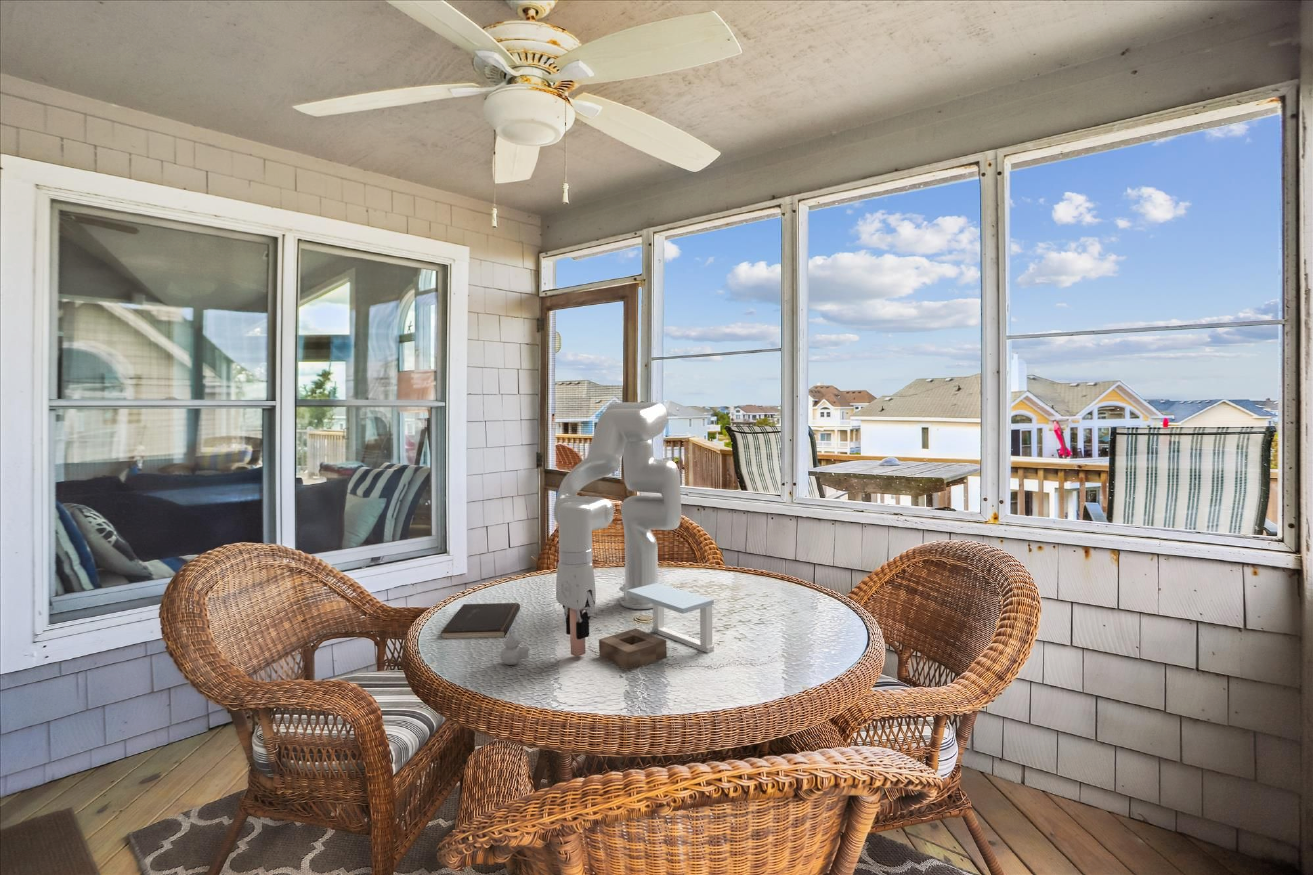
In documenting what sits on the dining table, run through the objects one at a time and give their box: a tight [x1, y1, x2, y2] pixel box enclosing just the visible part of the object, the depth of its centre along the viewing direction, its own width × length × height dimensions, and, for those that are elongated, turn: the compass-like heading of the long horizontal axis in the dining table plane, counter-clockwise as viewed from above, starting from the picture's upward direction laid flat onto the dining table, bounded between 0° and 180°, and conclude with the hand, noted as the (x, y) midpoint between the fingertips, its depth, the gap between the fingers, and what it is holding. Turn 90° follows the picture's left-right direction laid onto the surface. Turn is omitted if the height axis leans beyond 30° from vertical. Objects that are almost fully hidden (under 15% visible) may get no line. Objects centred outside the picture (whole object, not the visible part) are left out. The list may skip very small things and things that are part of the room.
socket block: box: [598, 628, 668, 671], centre depth 151 cm, size 11×11×4 cm
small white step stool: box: [627, 582, 715, 654], centre depth 158 cm, size 20×10×12 cm, turn 41°
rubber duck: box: [499, 628, 530, 666], centre depth 148 cm, size 5×7×8 cm
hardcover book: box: [440, 602, 521, 639], centre depth 176 cm, size 16×23×2 cm
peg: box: [569, 608, 587, 657], centre depth 151 cm, size 3×3×12 cm
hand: (577, 634), depth 151 cm, fingers closed on peg, 3 cm apart
